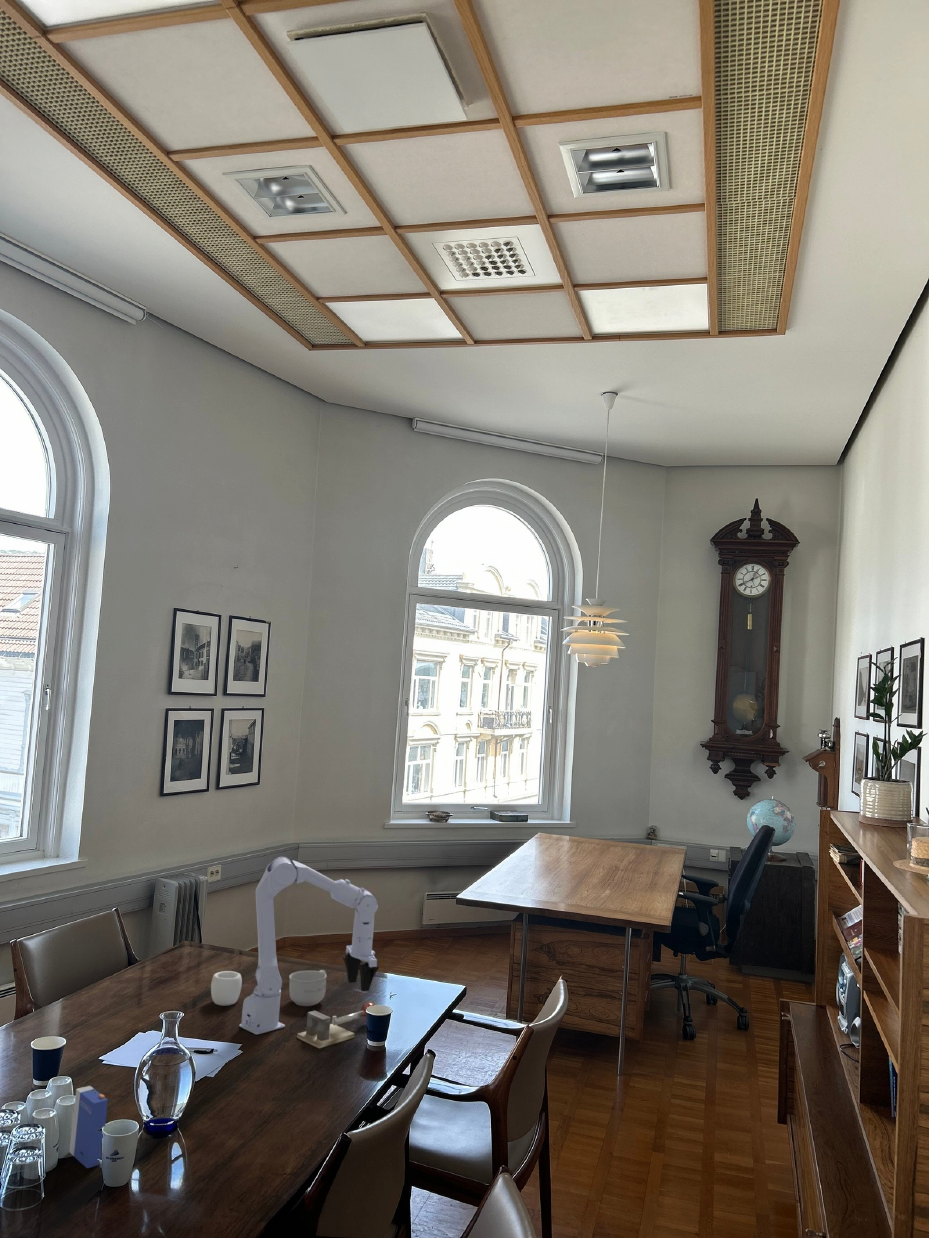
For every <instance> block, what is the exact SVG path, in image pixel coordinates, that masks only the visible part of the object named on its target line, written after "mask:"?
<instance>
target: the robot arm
mask: <svg viewBox="0 0 929 1238" xmlns="http://www.w3.org/2000/svg"><path fill="white" fill-rule="evenodd" d="M294 882H295V884H300V883H304V882H307V883H309V884H311V885H313V886H316V887H318V888H320V889H322V890H325V891H326V892H328V893H330V898H331V899H333V900H334V901H336V902H337V903H340V904H343V905H344V906H347V907H348V908H350V909H355V910H354V918H353V927H352V928H353V929H352V937H351V945H346V947H345V948H346V949H345V953H346V955H343V956H342V960H343V962H344V965H345V969H346V973H347V976H346V977H347V981H348V983H350V984H352V983H356V982H357V981H358V980H357V979H358V975H359V974H360V990H361V992H369V991H370V988H371V984H372V982H373V980H374V977H375V975H376V973H377V971H378V970H379V969H380V966H379V965H378V964H377V963H378V959H377V958H376V957H375V955H376V952H375V951H374V950H373V939H374V930H375V929H374V927H375V914H376V912H377V911H378V909H379V905H378V901H377V899H376V898H375V896H374V895H373V894H372V893H371V892H370V891H368V890H367V889H366V888H364V887H358V886H356V885H354V884H352V883H351V880H349V879H347V878H346V879H345V880H344V879H341V878H340V879H337V880H333V879H332V878H329V877H328V876H326V875H324V874H323V873H320V872H319V871H317V870H315V869H313V868H311V867H309V866H307V865H305V864H304V863H301V862H299V861H297V860H290V859H289V858H288V857H287V856H279V857H276V858H275V859H273V860H272V861H271V862H270V863H269V864H268V865H267V866H266V868H265V870H264V873H263V875H262V877H261V878H260V880H259V882H258V884H257V886H256V888H255V906H256V907H255V910H256V926H257V929H256V930H257V946H258V948H257V949H258V959H257V960H258V964H257V968H256V970H255V974H254V975H255V976H254V977H255V979H256V982H257V984H256V986H255V988H254V989H253V993H252V994H250V995H248V996H247V997H245V998H244V1000H243V1004H242V1009H241V1010H242V1013H241V1023H240V1024H239V1027H240V1028H242V1029H244V1030H246V1031H248V1032H250V1033H253V1034H254V1035H260V1034H264V1033H268V1032H271V1031H275V1030H278V1029H282V1028H285V1027H286V1024H284V1023H282V1022H280V1021H279V1019H280V1006H281V995H282V986H283V979H282V977H281V976H282V975H280V971H279V967H278V959H277V945H276V925H275V908H274V907H275V906H274V905H275V904H274V898H275V897H276V896H277V895H278V894H279V892H281V891H282V890H284V889H285V888H287V887H289V886H291V885H292V884H294ZM362 962H363V964H361V963H362Z"/></svg>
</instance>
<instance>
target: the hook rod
mask: <svg viewBox="0 0 929 1238" xmlns="http://www.w3.org/2000/svg"><path fill="white" fill-rule="evenodd" d="M374 1005H376V1004H375V1003H373V1002H367V1003H364V1004H362V1006H361V1009H360V1011H356V1012H353V1013H349V1014H346V1015H343V1016H339V1017H338V1016H337V1015H332V1019H331V1024H333V1025H337V1026H338V1025H341V1024H344V1023H347V1022H352V1021H355V1020H358V1019H361V1018H362V1020H363V1021H364V1022H366V1009H367V1007H369V1006H374Z"/></svg>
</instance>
